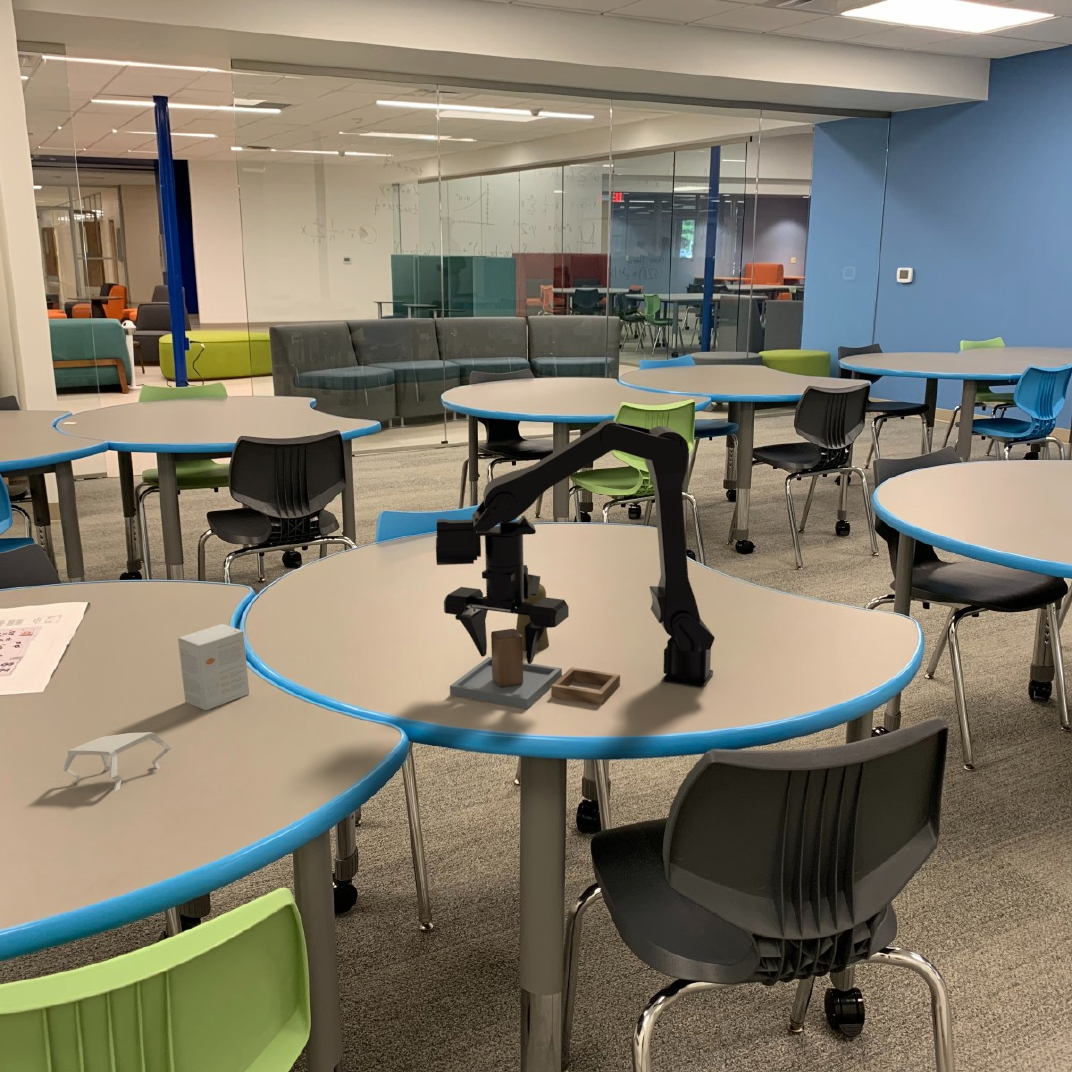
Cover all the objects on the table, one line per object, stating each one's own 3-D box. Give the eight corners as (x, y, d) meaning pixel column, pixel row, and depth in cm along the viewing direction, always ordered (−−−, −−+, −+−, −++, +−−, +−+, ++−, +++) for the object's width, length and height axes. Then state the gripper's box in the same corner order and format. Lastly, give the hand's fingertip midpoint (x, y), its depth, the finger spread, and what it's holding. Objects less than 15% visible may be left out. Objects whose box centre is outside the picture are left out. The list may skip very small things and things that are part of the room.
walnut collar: (619, 685, 157) (620, 674, 157) (601, 705, 150) (601, 694, 149) (571, 677, 160) (571, 667, 160) (551, 696, 153) (551, 685, 153)
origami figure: (89, 804, 124) (84, 768, 122) (63, 781, 129) (58, 746, 128) (182, 771, 132) (178, 736, 131) (153, 750, 138) (150, 717, 136)
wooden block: (491, 679, 158) (490, 630, 156) (515, 675, 159) (514, 627, 157) (499, 688, 154) (498, 639, 152) (524, 684, 156) (523, 635, 154)
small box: (229, 685, 159) (223, 622, 156) (250, 694, 156) (244, 630, 153) (183, 702, 153) (176, 636, 150) (204, 711, 150) (197, 645, 147)
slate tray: (561, 677, 160) (561, 668, 160) (527, 709, 149) (527, 699, 148) (488, 666, 166) (488, 656, 165) (450, 695, 154) (449, 685, 154)
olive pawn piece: (519, 653, 171) (517, 591, 168) (510, 641, 177) (509, 580, 174) (553, 649, 173) (552, 587, 170) (543, 637, 178) (542, 577, 176)
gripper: (581, 554, 156) (582, 650, 159) (474, 543, 163) (477, 634, 167) (553, 574, 146) (554, 675, 150) (440, 561, 153) (444, 657, 157)
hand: (506, 659), depth 156 cm, fingers open, 8 cm apart
